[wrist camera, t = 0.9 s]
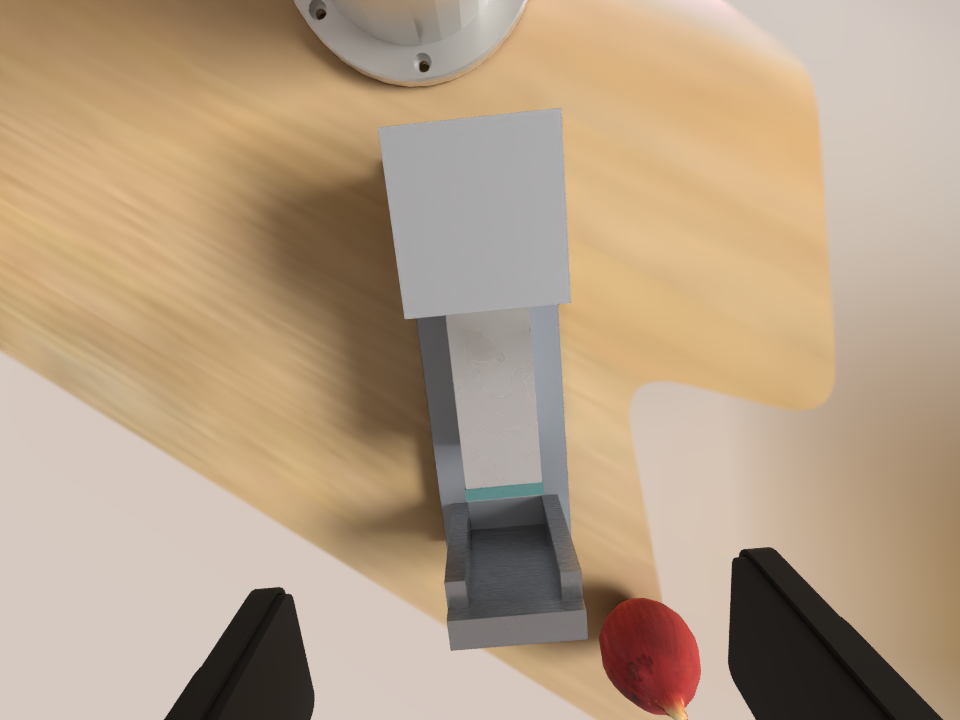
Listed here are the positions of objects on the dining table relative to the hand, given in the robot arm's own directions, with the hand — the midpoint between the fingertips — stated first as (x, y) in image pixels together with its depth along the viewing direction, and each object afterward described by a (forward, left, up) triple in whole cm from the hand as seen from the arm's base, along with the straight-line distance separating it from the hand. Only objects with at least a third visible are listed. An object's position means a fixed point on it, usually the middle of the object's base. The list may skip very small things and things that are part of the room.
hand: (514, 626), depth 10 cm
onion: (+18, +8, -20) cm, 28 cm away
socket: (+9, 0, -18) cm, 20 cm away
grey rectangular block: (-4, 0, -18) cm, 18 cm away
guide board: (-1, 0, -19) cm, 19 cm away
